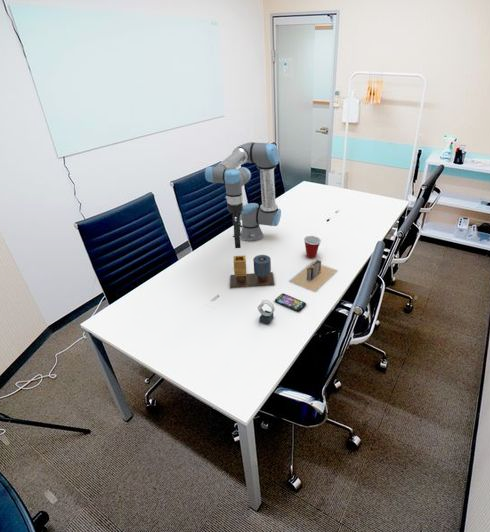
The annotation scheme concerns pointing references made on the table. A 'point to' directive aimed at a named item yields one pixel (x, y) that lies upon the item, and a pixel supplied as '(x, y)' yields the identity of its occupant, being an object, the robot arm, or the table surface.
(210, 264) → the table surface
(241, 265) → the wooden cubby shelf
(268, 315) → the watch
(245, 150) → the robot arm
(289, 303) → the smartphone
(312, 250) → the plastic cup
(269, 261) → the blue ring
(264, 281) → the peg stand
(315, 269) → the architectural model on board
